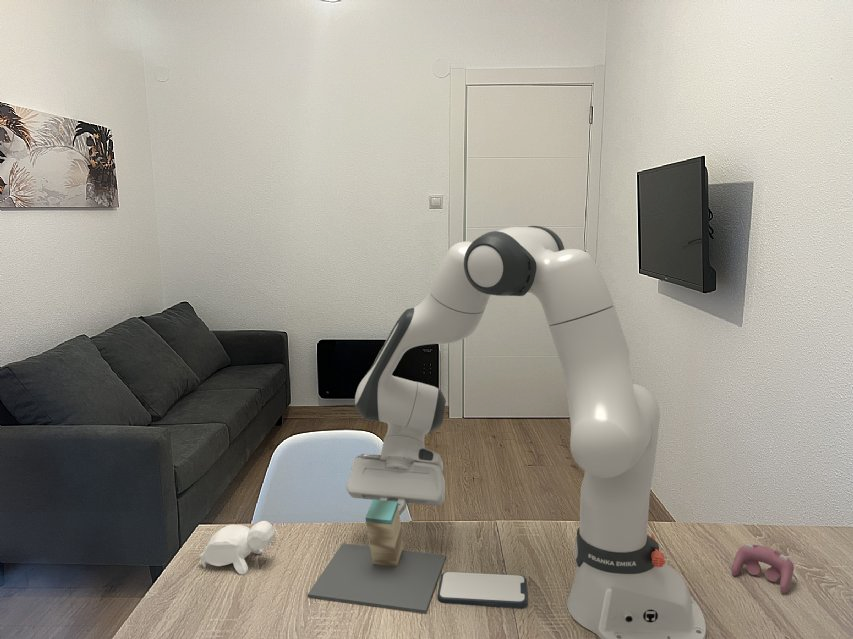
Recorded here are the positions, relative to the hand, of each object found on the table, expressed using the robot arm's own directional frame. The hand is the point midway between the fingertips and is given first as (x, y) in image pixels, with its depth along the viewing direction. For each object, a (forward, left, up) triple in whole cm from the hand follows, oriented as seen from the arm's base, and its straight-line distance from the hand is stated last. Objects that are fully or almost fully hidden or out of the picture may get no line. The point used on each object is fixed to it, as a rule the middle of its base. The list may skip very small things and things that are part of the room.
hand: (389, 522), depth 126 cm
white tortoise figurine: (+29, +7, -8) cm, 31 cm away
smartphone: (-20, +7, -8) cm, 22 cm away
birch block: (0, +1, -6) cm, 7 cm away
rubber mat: (0, +7, -8) cm, 10 cm away
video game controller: (-70, -8, -8) cm, 71 cm away
